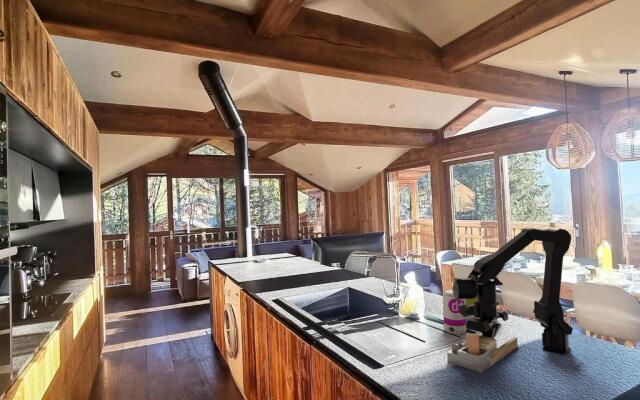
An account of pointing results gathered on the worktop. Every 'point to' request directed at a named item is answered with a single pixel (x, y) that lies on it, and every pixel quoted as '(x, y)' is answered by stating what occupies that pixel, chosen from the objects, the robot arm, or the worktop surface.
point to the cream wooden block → (486, 343)
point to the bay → (501, 350)
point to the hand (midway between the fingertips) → (488, 345)
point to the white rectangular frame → (469, 358)
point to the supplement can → (453, 313)
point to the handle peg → (473, 344)
